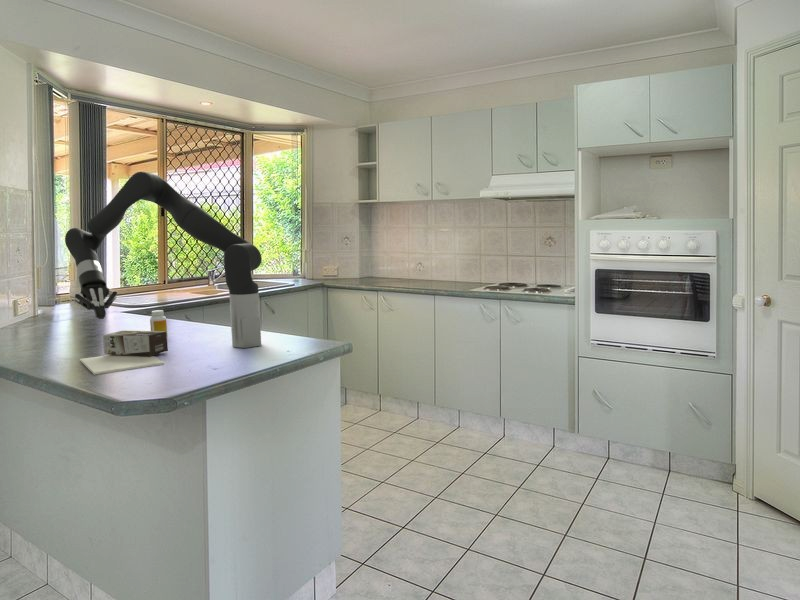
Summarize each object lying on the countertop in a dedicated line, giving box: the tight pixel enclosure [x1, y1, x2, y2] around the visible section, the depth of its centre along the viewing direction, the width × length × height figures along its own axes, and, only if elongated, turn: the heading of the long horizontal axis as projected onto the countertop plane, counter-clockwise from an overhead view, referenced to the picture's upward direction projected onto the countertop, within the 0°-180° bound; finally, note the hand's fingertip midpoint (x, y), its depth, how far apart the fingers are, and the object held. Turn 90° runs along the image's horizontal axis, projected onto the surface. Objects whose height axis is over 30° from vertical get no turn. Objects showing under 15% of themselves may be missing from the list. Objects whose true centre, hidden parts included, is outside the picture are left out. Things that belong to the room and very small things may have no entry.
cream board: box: [79, 355, 165, 376], centre depth 172 cm, size 22×18×1 cm
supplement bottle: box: [149, 309, 168, 335], centre depth 211 cm, size 5×5×10 cm
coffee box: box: [102, 330, 169, 356], centre depth 182 cm, size 9×6×16 cm
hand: (101, 317), depth 188 cm, fingers closed
